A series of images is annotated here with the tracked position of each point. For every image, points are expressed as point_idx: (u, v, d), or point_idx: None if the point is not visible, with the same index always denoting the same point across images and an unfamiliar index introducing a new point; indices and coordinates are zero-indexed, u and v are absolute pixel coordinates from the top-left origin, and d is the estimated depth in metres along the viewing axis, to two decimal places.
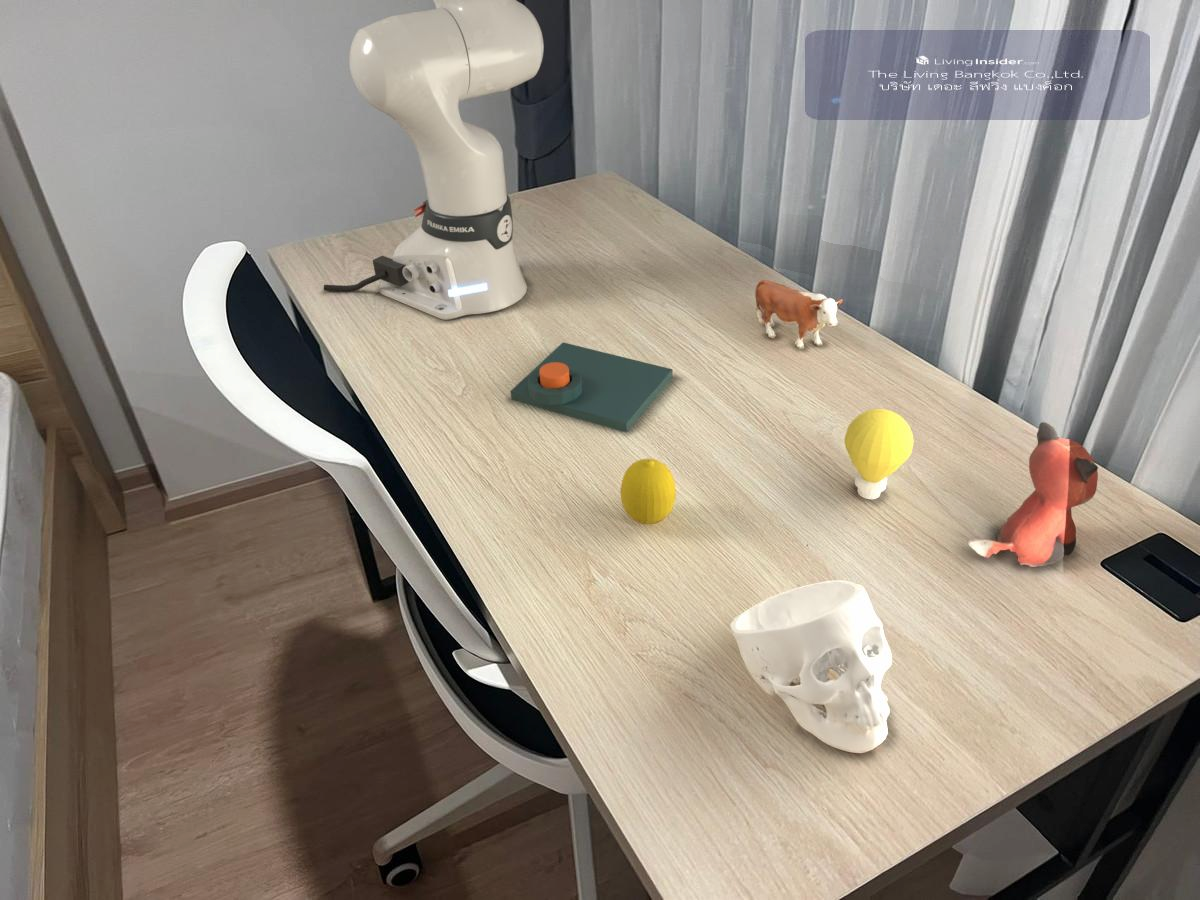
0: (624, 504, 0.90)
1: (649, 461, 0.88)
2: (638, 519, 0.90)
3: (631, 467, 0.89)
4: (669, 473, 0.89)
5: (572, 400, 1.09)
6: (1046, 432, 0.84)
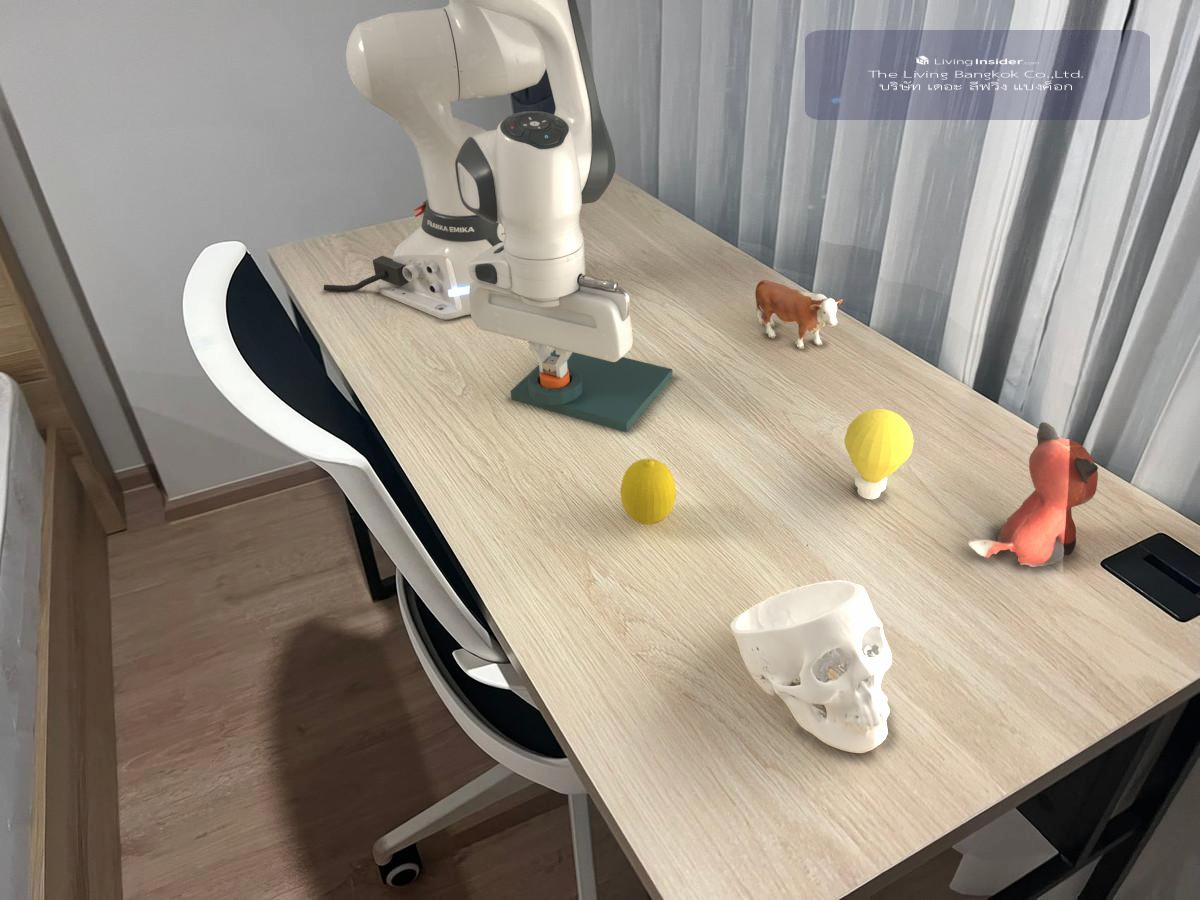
0: (624, 504, 0.90)
1: (649, 461, 0.88)
2: (638, 519, 0.90)
3: (631, 467, 0.89)
4: (669, 473, 0.89)
5: (572, 400, 1.09)
6: (1046, 431, 0.84)
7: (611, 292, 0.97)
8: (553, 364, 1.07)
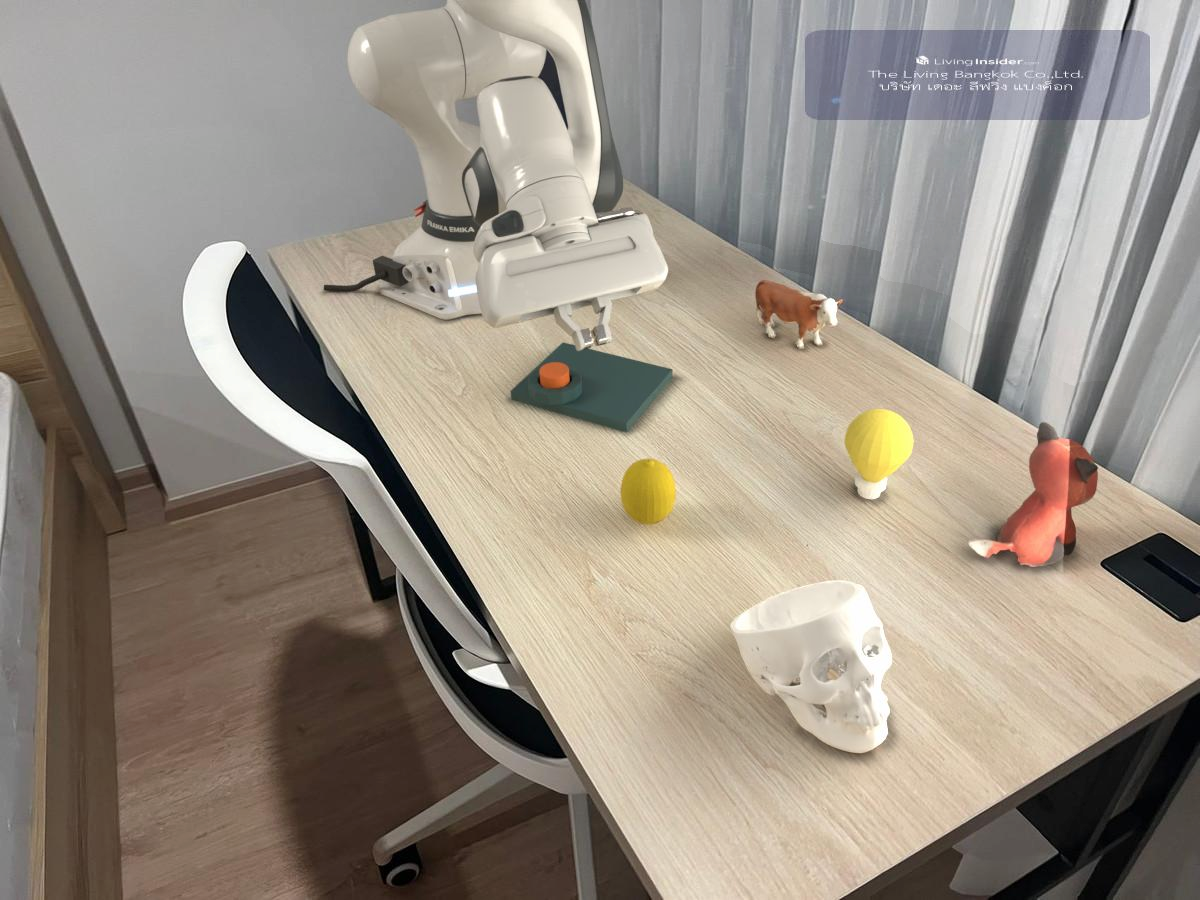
0: (624, 504, 0.90)
1: (649, 461, 0.88)
2: (638, 519, 0.90)
3: (631, 467, 0.89)
4: (669, 473, 0.89)
5: (572, 400, 1.09)
6: (1046, 431, 0.84)
7: (631, 216, 0.96)
8: None
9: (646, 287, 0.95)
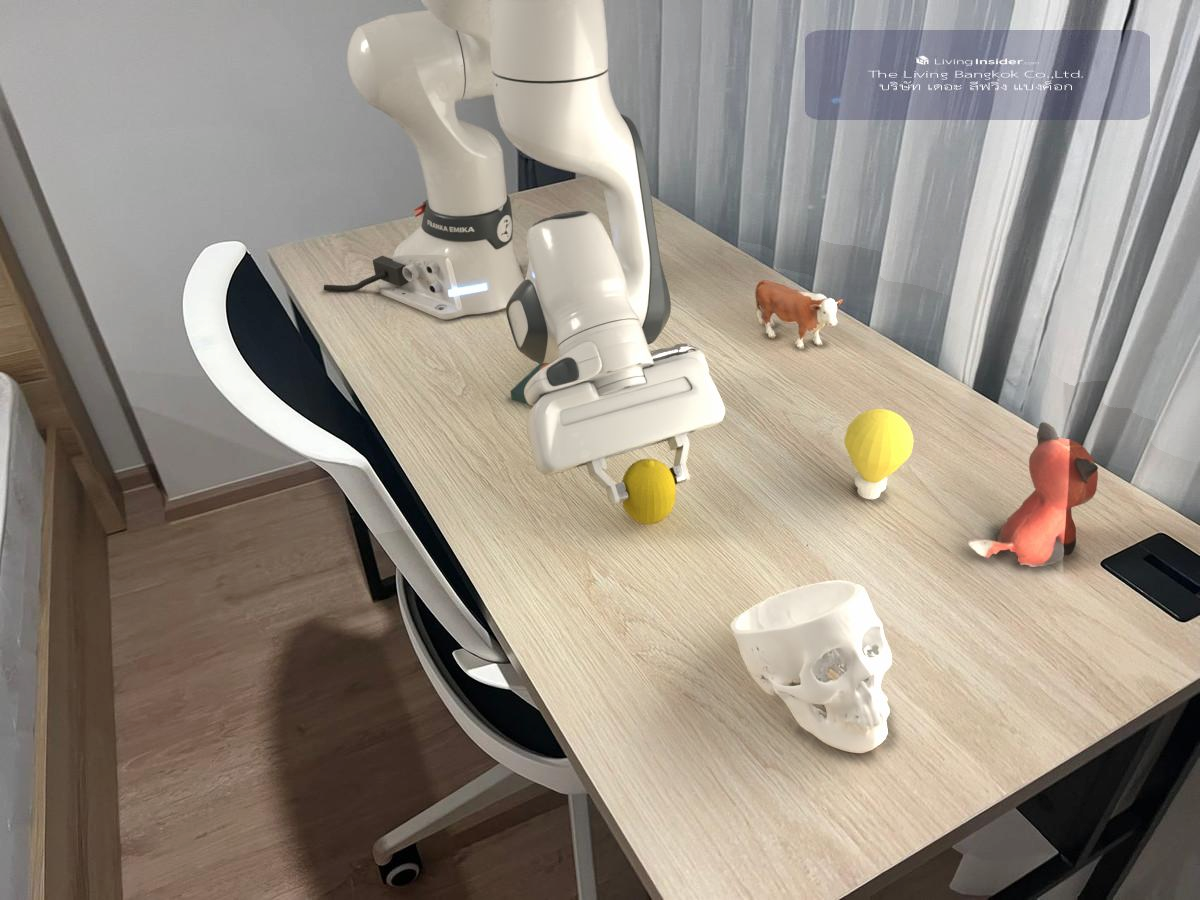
0: (624, 504, 0.90)
1: (649, 461, 0.88)
2: (638, 519, 0.90)
3: (631, 467, 0.89)
4: (669, 473, 0.89)
5: None
6: (1046, 431, 0.84)
7: (686, 353, 0.93)
8: (676, 465, 0.90)
9: (702, 428, 0.92)
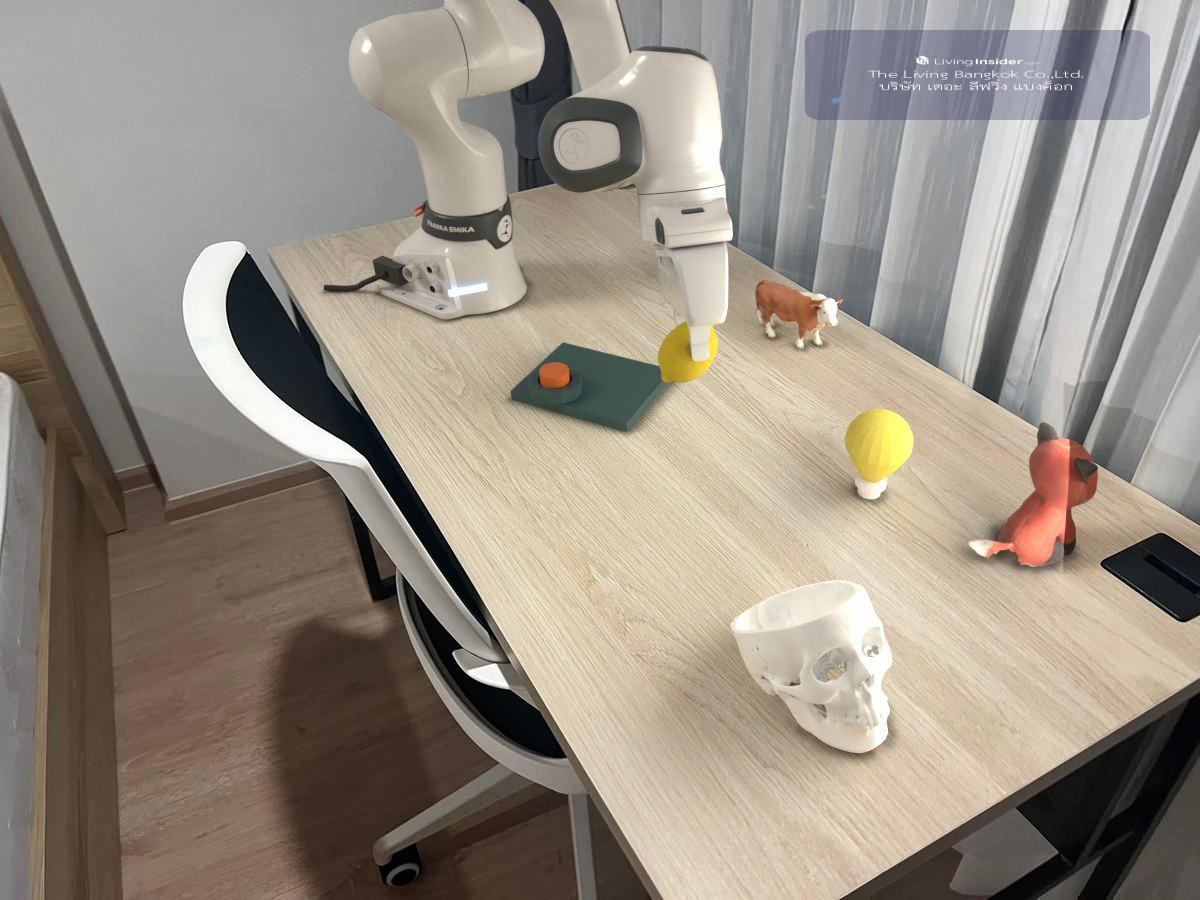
0: (690, 362, 0.93)
1: None
2: (691, 377, 0.94)
3: None
4: None
5: (572, 400, 1.09)
6: (1046, 431, 0.84)
7: None
8: None
9: None
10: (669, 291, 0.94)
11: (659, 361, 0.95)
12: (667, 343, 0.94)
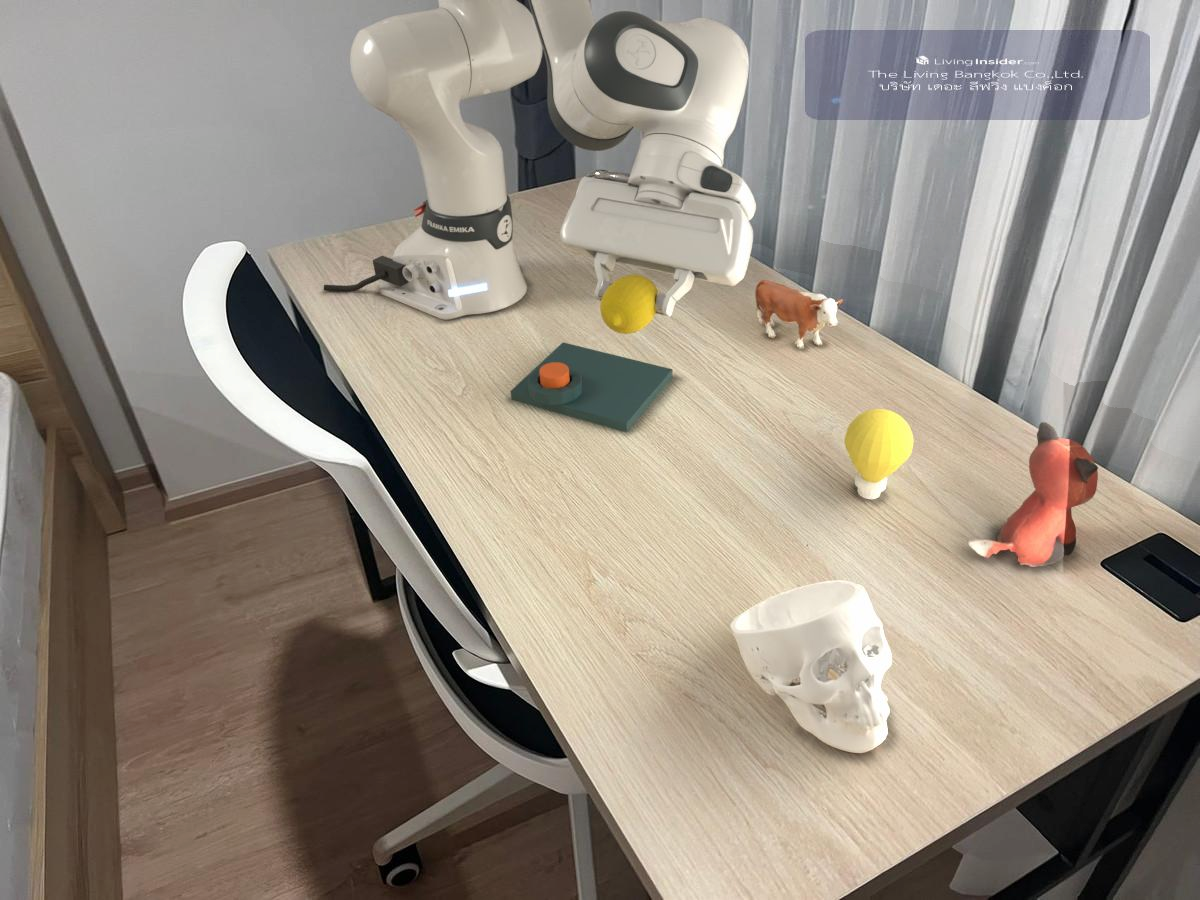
0: (651, 313, 0.90)
1: None
2: (639, 329, 0.91)
3: None
4: None
5: (572, 400, 1.09)
6: (1046, 432, 0.84)
7: None
8: None
9: (584, 253, 0.96)
10: (632, 239, 0.92)
11: (622, 300, 0.89)
12: (636, 286, 0.89)
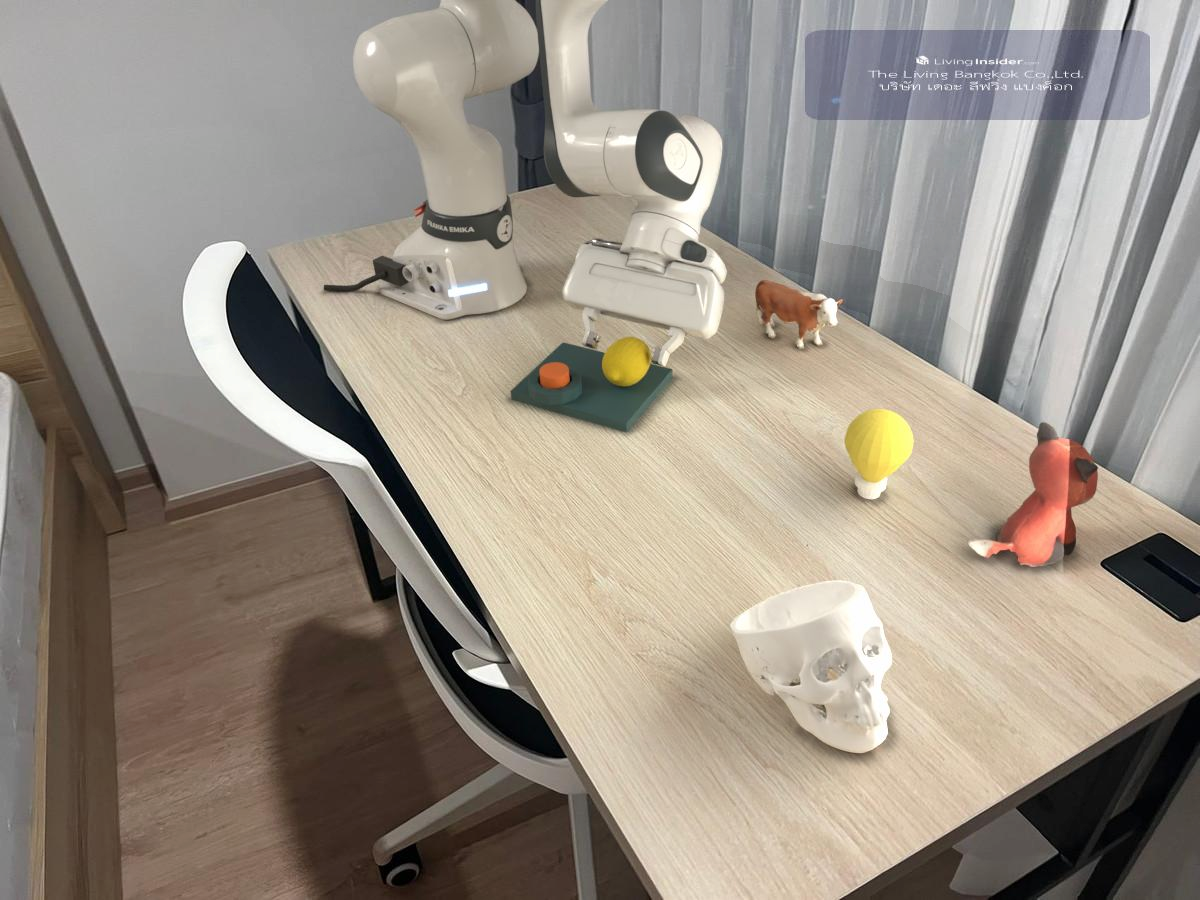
0: (644, 373, 1.09)
1: None
2: (631, 384, 1.09)
3: None
4: None
5: (572, 400, 1.09)
6: (1046, 432, 0.84)
7: None
8: None
9: (582, 308, 1.14)
10: (623, 298, 1.09)
11: (623, 361, 1.07)
12: (636, 350, 1.08)
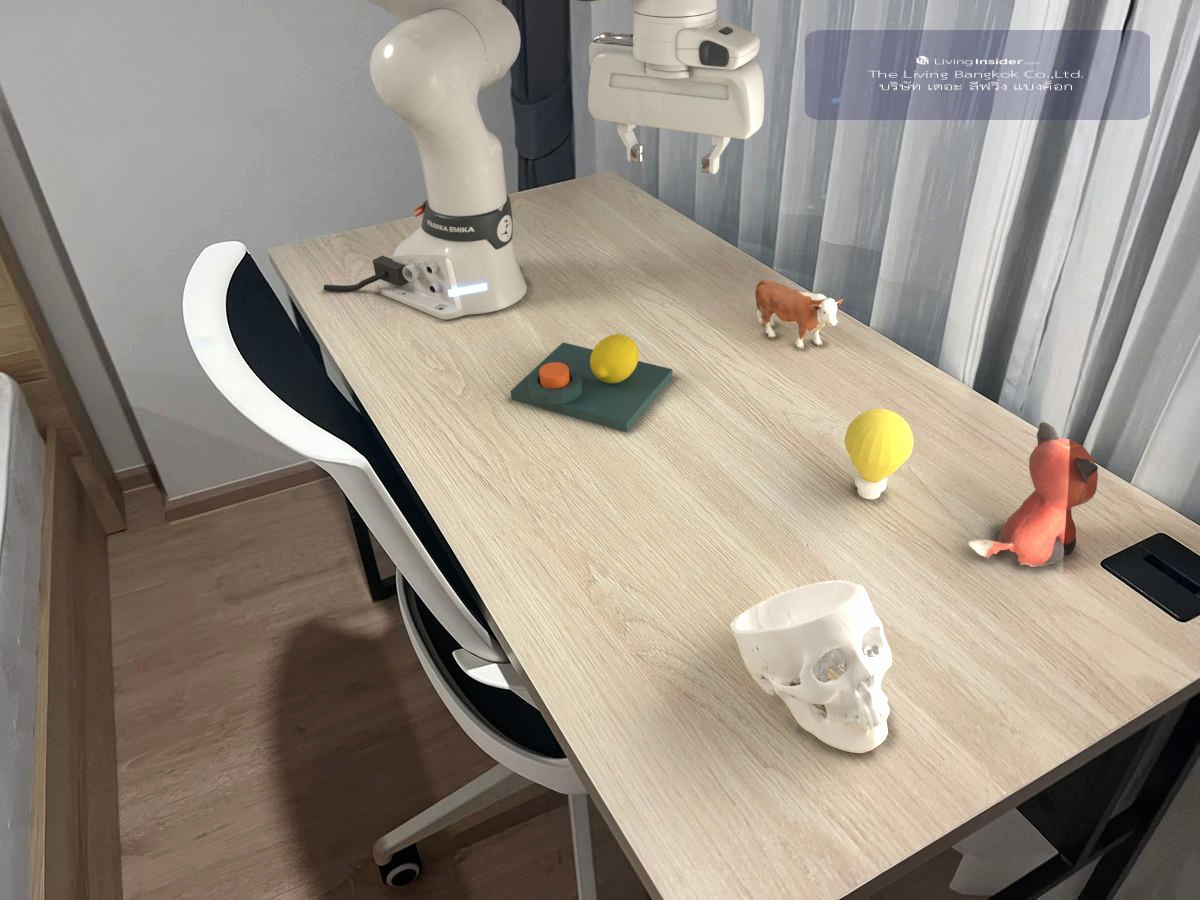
0: (631, 359, 1.09)
1: None
2: (625, 374, 1.09)
3: None
4: None
5: (572, 400, 1.09)
6: (1046, 432, 0.84)
7: None
8: (639, 144, 1.05)
9: None
10: (654, 112, 1.00)
11: (603, 355, 1.08)
12: (612, 341, 1.09)
